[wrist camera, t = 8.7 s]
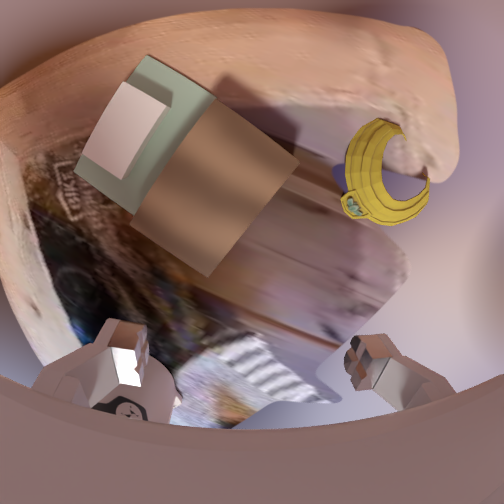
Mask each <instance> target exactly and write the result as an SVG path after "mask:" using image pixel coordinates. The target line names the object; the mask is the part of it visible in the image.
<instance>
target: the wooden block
mask: <svg viewBox="0 0 504 504" xmlns="http://www.w3.org/2000/svg"><path fill="white" fill-rule="evenodd" d="M299 163H300V162H299V161H298V160H297V159H296V158H294V157H293V156H292V155H291V154H290V153H288V152H287V151H286V150H285V149H283V148H282V147H281V146H280V145H278V144H277V143H276V142H275V141H273V140H272V139H271V138H269V137H268V136H267V135H266V134H264V133H263V132H262V131H260V130H259V129H258V128H256V127H255V126H254V125H252V124H251V123H250V122H248V121H247V120H245V119H244V118H243V117H241V116H240V115H239V114H237V113H236V112H234V111H233V110H232V109H230V108H229V107H227V106H226V105H224V104H223V103H221V102H220V101H218V100H217V99H216V98H215V100H214V101H213V102H212V103H211V104H210V106H209V107H208V108H207V109H206V111H205V112H204V113H203V115H202V116H201V117H200V118H199V120H198V121H197V122H196V124H195V125H194V126H193V128H192V129H191V130H190V132H189V133H188V134H187V136H186V137H185V138H184V140H183V141H182V143H181V144H180V145H179V147H178V148H177V150H176V151H175V152H174V154H173V155H172V157H171V158H170V160H169V161H168V163H167V164H166V166H165V167H164V169H163V170H162V172H161V173H160V175H159V176H158V178H157V179H156V181H155V182H154V184H153V185H152V187H151V189H150V190H149V192H148V193H147V195H146V197H145V198H144V200H143V202H142V203H141V205H140V207H139V208H138V210H137V212H136V213H135V215H134V217H133V218H132V220H131V222H130V224H129V225H130V226H132V227H133V228H135V229H136V230H137V231H139V232H140V233H142V234H143V235H145V236H146V237H147V238H149V239H150V240H152V241H153V242H155V243H156V244H158V245H159V246H161V247H162V248H164V249H165V250H166V251H168V252H169V253H171V254H172V255H174V256H175V257H177V258H178V259H180V260H181V261H183V262H184V263H186V264H187V265H189V266H190V267H192V268H193V269H195V270H197V271H198V272H200V273H201V274H203V275H204V276H206V277H207V278H208V277H209V276H210V274H211V273H212V272H213V271H214V269H215V268H216V267H217V265H218V264H219V263H220V262H221V260H222V259H223V258H224V257H225V255H226V254H227V253H228V251H229V250H230V249H231V248H232V246H233V245H234V244H235V243H236V241H237V240H238V239H239V238H240V236H241V235H242V234H243V233H244V231H245V230H246V229H247V228H248V226H249V225H250V224H251V223H252V221H253V220H254V219H255V218H256V216H257V215H258V214H259V213H260V211H261V210H262V209H263V208H264V206H265V205H266V204H267V203H268V201H269V200H270V199H271V198H272V196H273V195H274V194H275V193H276V192H277V190H278V189H279V188H280V187H281V185H282V184H283V183H284V182H285V180H286V179H287V178H288V177H289V176H290V174H291V173H292V172H293V171H294V169H295V168H296V167H297V166H298V165H299Z"/></svg>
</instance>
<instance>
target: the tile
mask: <svg viewBox="0 0 504 504" xmlns="http://www.w3.org/2000/svg"><path fill="white" fill-rule="evenodd" d="M170 109H171V108H170V107H168V106H167V105H165V104H163V103H162V102H160V101H158V100H156V99H155V98H153V97H151V96H150V95H148V94H146V93H144V92H143V91H141V90H139V89H137V88H136V87H134V86H132V85H130V84H128V83H126V82H124V81H123V82H122V84H121V85H120V87H119V88H118V90H117V91H116V93H115V94H114V96H113V97H112V99H111V101H110V102H109V104H108V106H107V107H106V109H105V111H104V112H103V114H102V116H101V117H100V119H99V121H98V123H97V124H96V126H95V128H94V130H93V132H92V134H91V136H90V137H89V139H88V141H87V143H86V145H85V147H84V149H83V151H82V154H83V155H85V156H86V157H88V158H89V159H91V160H92V161H94V162H95V163H96V164H98V165H99V166H101V167H102V168H104V169H105V170H107V171H108V172H110V173H111V174H113V175H114V176H116V177H117V178H119V179H120V180H122V179H125V178H127V177H128V176H129V174H130V172H131V171H132V169H133V167H134V165H135V164H136V162H137V160H138V158H139V157H140V155H141V153H142V152H143V150H144V149H145V147H146V145H147V144H148V142H149V140H150V139H151V137H152V136H153V134H154V133H155V131H156V130H157V128H158V127H159V125H160V124H161V122H162V121H163V119H164V118H165V116H166V115H167V113H168V112H169V110H170Z"/></svg>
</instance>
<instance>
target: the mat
mask: <svg viewBox="0 0 504 504" xmlns="http://www.w3.org/2000/svg"><path fill="white" fill-rule="evenodd" d="M126 83H128V84H130V85H132V86H134V87H136V88H137V89H139V90H141V91H143V92H144V93H146V94H148V95H150V96H151V97H153V98H155V99H156V100H158V101H160V102H162V103H163V104H165V105H167V106H168V107H170V108H171V109H170V110H169V112H168V113H167V115H166V116H165V118H164V119H163V121H162V122H161V124H160V125H159V127H158V128H157V130H156V131H155V133H154V134H153V136H152V137H151V139H150V140H149V142H148V144H147V145H146V147H145V149H144V150H143V152H142V153H141V155H140V157H139V158H138V160H137V162H136V164H135V165H134V167H133V169H132V171H131V172H130V174H129V176H128V177H127V178H125V179H122V180H120V179H119V178H117V177H116V176H114V175H113V174H111V173H110V172H108V171H107V170H105V169H104V168H102V167H101V166H99V165H98V164H96V163H95V162H94V161H92V160H91V159H89V158H88V157H86V156H85V155H83V154H82V155H81V157H80V159H79V161H78V163H77V165H76V167H75V169H74V171H73V172H75V173H76V174H77V175H79V176H80V177H81V178H83V179H84V180H85V181H87V182H88V183H89V184H91V185H92V186H93V187H95V188H96V189H98V190H99V191H100V192H102V193H103V194H104V195H106V196H107V197H109V198H110V199H111V200H113V201H114V202H115V203H117V204H118V205H120V206H121V207H122V208H124V209H125V210H127V211H128V212H129V213H131V214H132V215H135V213H136V212H137V210H138V208H139V207H140V205H141V203H142V202H143V200H144V198H145V197H146V195H147V193H148V192H149V190H150V189H151V187H152V185H153V184H154V182H155V181H156V179H157V178H158V176H159V175H160V173H161V172H162V170H163V169H164V167H165V166H166V164H167V163H168V161H169V160H170V158H171V157H172V155H173V154H174V152H175V151H176V150H177V148H178V147H179V145H180V144H181V143H182V141H183V140H184V138H185V137H186V136H187V134H188V133H189V132H190V130H191V129H192V128H193V126H194V125H195V124H196V122H197V121H198V120H199V118H200V117H201V116H202V115H203V113H204V112H205V111H206V109H207V108H208V107H209V106H210V104H211V103H212V102H213V101H214V100H215V98H216V99H217V97H215V96H214V95H212V94H211V93H209V92H208V91H206V90H205V89H203V88H201V87H200V86H198V85H197V84H195V83H194V82H192V81H190V80H189V79H187V78H186V77H184V76H182V75H181V74H179V73H177V72H176V71H174V70H172V69H171V68H169V67H167V66H166V65H164V64H162V63H160V62H159V61H157V60H155V59H153V58H151V57H150V56H148V55H146V56H145V57H144V59H143V60H142V61H141V62H140V64H139V65H138V66H137V68H136V69H135V70H134V72H133V73H132V74H131V76H130V77H129V78H128V80H127V81H126Z"/></svg>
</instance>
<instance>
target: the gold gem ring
mask: <svg viewBox="0 0 504 504" xmlns="http://www.w3.org/2000/svg"><path fill="white" fill-rule="evenodd" d="M397 134H402V135H403V136H404V138H405V135H404V134H403V132H402V129H401V128H400V127H399V126H398V125H396V124H393V123H390V122H388V121H384V120H381V119H378V118H376V119H375V120H373V121H371V122H369V123H367V124H366V125H364V126H362V127H361V128H360V129H359V130H358V132H357V133H356V134H355V136H354V137H353V138H352V140H351V142H350V145H349V148H348V151H347V154H346V166H345V176H346V182H347V187H348V192H347V193H346V194H344V195H343V196H342V197H341V202H342V206H343V209H344V212H345V213H347V214H348V215H349V216H350V217H351V218H352V219H358V218H368V219H370V220H371V221H373V222H375V223H377V224H380V225H388V226H393V225H397V224H400V223H403V222H405V221H408V220H410V219H412V218H415V217H416V216H417V215H418V214H419V213H420V212H421V210H422V209H423V208H424V207H425V205H426V204H427V202H428V199H429V198H428V197H429V184H430V178H429V177H427V176H425V175H424V173H423V172H422V174H423V175H424V176H425V177H427V181H426V186H425V188H424V189H423V190H422V191H421V193H420V194H418V195H417V196H415V197H413V198H411V199H409V200H406V201H398V200H395V199H393V198H392V197H391V196H390V195H389V194H388V192H387V191H386V189H385V187H384V184H383V182H382V173H381V170H382V158H383V152H384V149H385V147H386V144H387V142H388V141H389V140H390V139H391V138H392V137H393V136H394V135H397ZM405 140H406V138H405ZM343 202H344V203H343Z"/></svg>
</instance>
